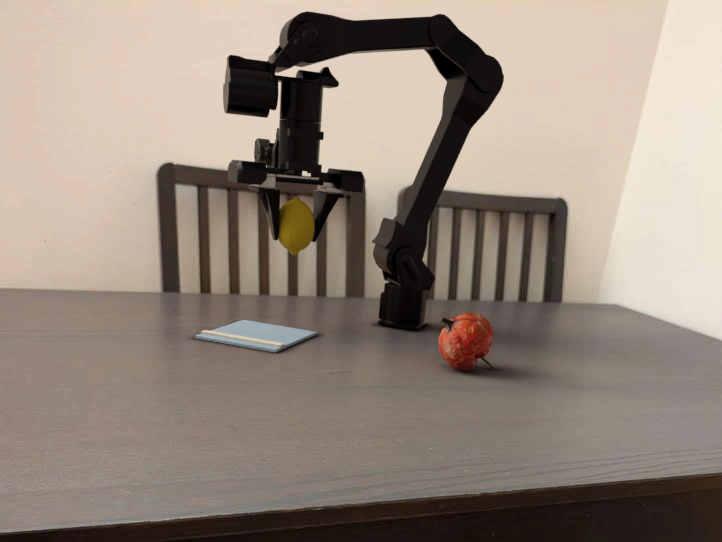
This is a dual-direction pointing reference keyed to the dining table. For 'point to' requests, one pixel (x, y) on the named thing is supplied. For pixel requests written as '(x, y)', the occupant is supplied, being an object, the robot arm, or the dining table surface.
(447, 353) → the pomegranate
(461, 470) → the dining table surface
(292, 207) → the lemon
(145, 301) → the dining table surface
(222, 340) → the towel
